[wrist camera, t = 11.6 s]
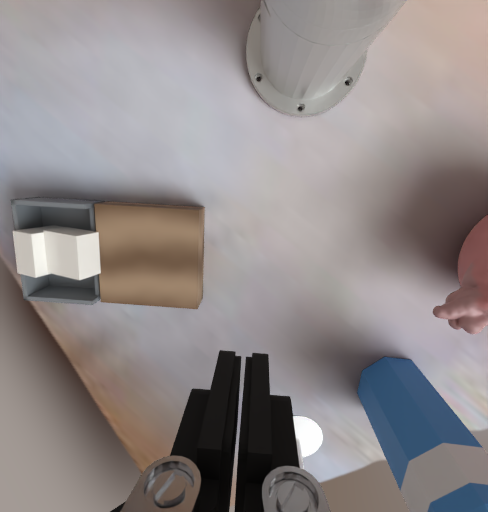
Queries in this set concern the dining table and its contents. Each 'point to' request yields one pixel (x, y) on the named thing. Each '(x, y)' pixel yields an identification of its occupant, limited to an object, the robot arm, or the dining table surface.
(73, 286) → the tray
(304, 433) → the wineglass
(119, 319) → the dining table surface
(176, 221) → the board
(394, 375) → the water bottle
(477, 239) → the pomegranate
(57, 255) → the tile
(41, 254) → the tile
